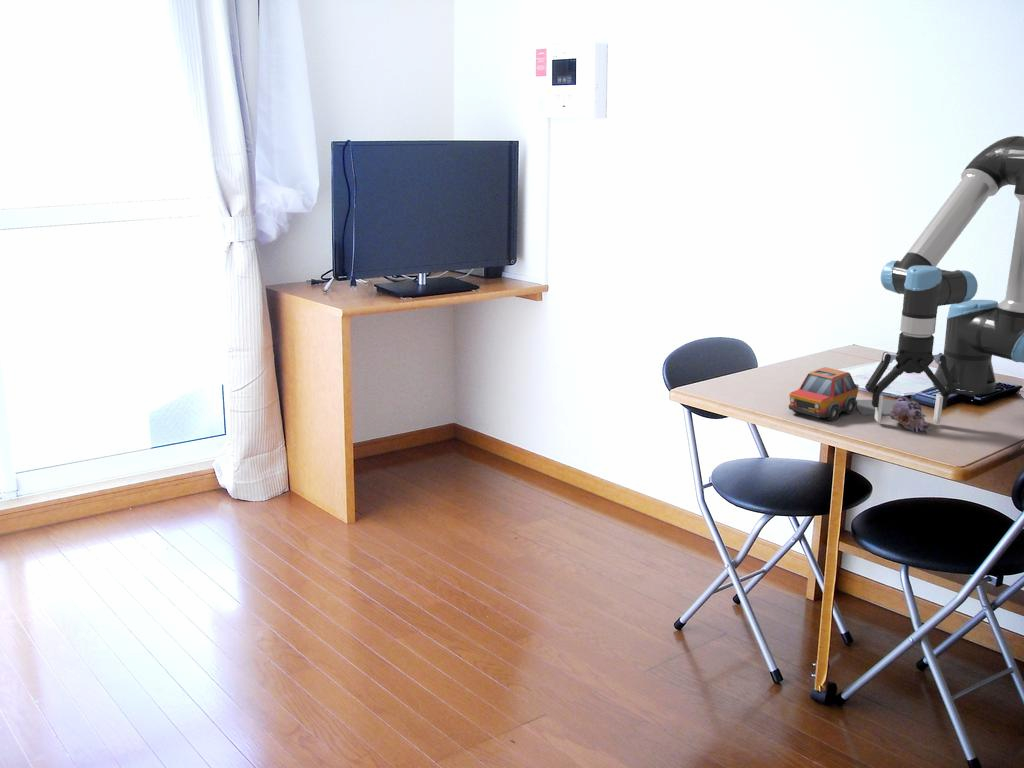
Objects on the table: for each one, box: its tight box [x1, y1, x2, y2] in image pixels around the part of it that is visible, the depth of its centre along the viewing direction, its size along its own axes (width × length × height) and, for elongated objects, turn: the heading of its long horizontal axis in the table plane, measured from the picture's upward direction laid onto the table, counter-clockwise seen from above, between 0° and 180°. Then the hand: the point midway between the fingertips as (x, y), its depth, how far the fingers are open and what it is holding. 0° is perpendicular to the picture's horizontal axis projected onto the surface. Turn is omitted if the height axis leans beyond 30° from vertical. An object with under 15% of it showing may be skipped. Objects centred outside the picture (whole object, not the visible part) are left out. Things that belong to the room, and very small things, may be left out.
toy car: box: [788, 366, 860, 422], centre depth 256 cm, size 12×17×10 cm
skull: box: [889, 396, 930, 434], centre depth 246 cm, size 12×8×6 cm, turn 2°
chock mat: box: [855, 399, 926, 417], centre depth 260 cm, size 15×12×1 cm
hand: (906, 421), depth 247 cm, fingers open, 13 cm apart
